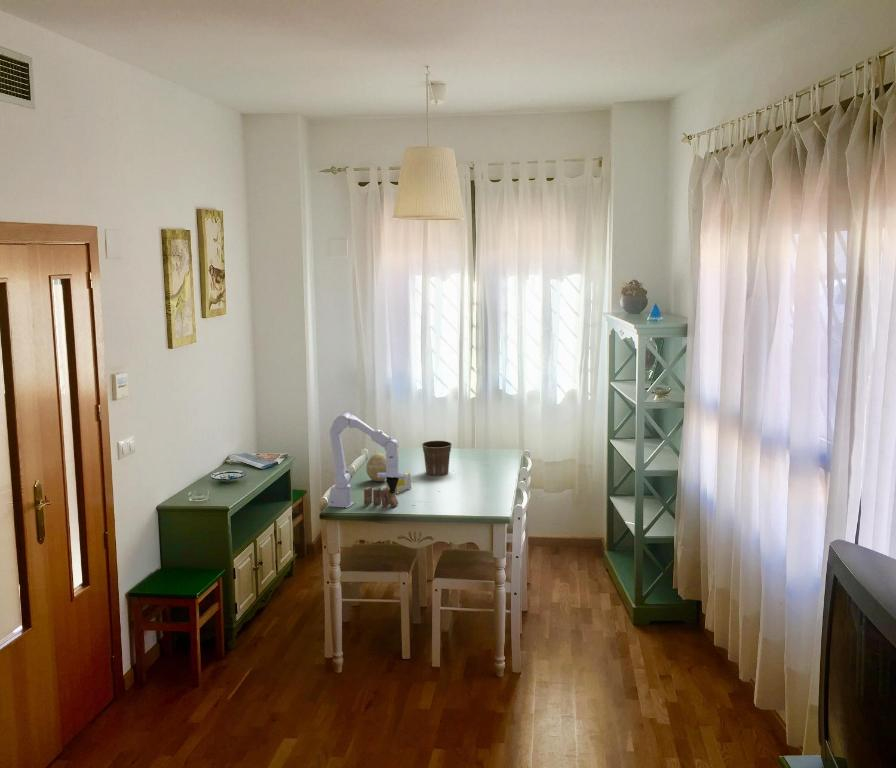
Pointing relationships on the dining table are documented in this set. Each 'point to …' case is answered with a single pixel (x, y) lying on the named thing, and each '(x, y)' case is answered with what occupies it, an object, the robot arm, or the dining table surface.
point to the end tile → (367, 496)
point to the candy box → (402, 484)
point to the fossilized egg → (376, 466)
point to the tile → (376, 496)
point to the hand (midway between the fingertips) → (392, 493)
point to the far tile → (391, 498)
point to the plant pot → (437, 457)
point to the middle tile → (384, 497)
